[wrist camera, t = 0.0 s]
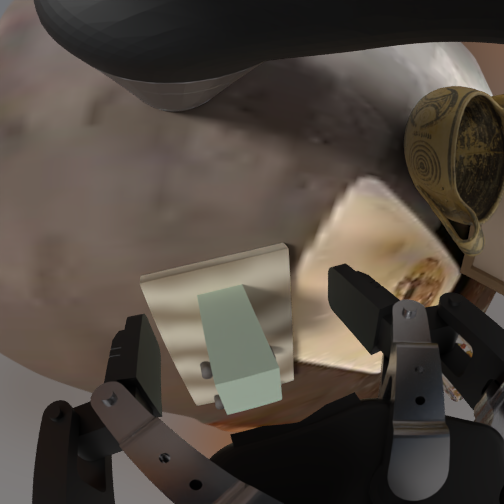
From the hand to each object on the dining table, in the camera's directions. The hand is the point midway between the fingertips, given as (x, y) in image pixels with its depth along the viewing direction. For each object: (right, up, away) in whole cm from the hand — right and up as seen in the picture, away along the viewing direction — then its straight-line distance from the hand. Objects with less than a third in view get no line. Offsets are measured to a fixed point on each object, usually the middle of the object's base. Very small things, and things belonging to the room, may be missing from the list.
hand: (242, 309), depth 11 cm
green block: (-3, -4, +19) cm, 20 cm away
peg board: (-2, -9, +24) cm, 25 cm away
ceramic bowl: (+24, +17, +19) cm, 35 cm away
